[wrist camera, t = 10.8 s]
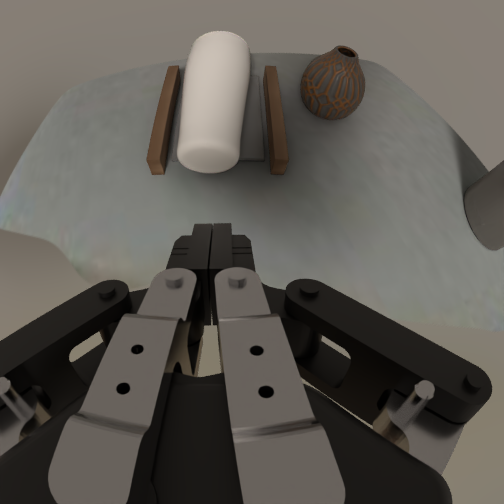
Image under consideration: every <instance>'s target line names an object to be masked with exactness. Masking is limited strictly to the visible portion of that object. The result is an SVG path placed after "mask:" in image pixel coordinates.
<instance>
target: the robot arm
mask: <svg viewBox="0 0 504 504" xmlns="http://www.w3.org/2000/svg"><path fill="white" fill-rule="evenodd" d="M464 202H465V210H466V215H467V218H468V221H469V223H470V226H471V228H472V230H473V232H474V233H475V235H476V237H477V238H478V239H479V241H480V242H481V243H482V244H483V245H484V246H485V247H487V248H488V249H490V250H498V249H500V248H502V247H504V161H502V162H501V163H500V164H499V165H497V166H496V167H495V168H494V169H492V170H491V171H490V172H488V173H487V174H486V175H485V176H483V177H482V178H481V179H479V180H478V181H477V182H475V183H474V184H473V185H472V186H470V187H469V188H468V189H467V191H466V193H465V199H464ZM211 314H212V315H211ZM211 316H212V319H213V325H217V330H218V345H219V355H220V365H221V373H220V374H215V375H210V376H205V377H197V376H198V370H199V364H200V357H201V352H202V346H203V337H202V335H203V332H204V325H211ZM98 331H99V332H100V334H101V337H102V339H103V342H102V343H101V344H100V345H98V346H96V347H95V348H94V349H92V350H91V351H89V352H87V353H86V354H85V355H83V356H82V357H80V358H79V359H77V360H76V361H74V362H70V361H69V354H70V352H71V350H72V349H73V348H74V347H75V346H77V345H79V344H80V343H82V342H83V341H85V340H86V339H88V338H89V337H90V336H92V335H94V334H95V333H97V332H98ZM322 335H323V336H325V337H326V338H328V339H329V340H331V341H333V342H334V343H336V344H337V345H339V346H341V347H342V348H344V349H345V350H346V351H347V352H348V353H349V355H350V357H351V359H349V358H347V357H346V356H344V355H343V354H341V353H339V352H338V351H336V350H335V349H333V348H332V347H330V346H328V345H327V344H325V343H324V342H322V341H321V339H322ZM301 378H303V379H304V380H306V381H307V382H308V383H310V384H311V385H312V386H314V387H315V388H317V389H318V390H320V391H321V392H322V393H324V394H325V395H327V396H328V397H330V398H331V399H333V400H334V401H336V402H337V403H339V404H340V405H341V406H343V407H344V408H346V409H347V410H349V411H350V412H352V413H353V414H355V415H356V416H358V417H359V418H361V419H362V420H364V421H366V422H367V423H369V424H370V425H372V426H373V429H371V428H370V427H368V426H367V425H366V424H364V423H363V422H361V421H360V420H358V419H357V418H355V417H354V416H353V415H351V414H350V413H349V412H347V411H346V410H344V409H343V408H342V407H340V406H339V405H338V404H336V403H335V402H333V401H332V400H331V399H329V398H328V397H327V396H325V395H324V394H322V393H321V392H320V391H318V390H316V389H314V388H313V387H310V386H308V385H306V384H303V383H302V380H301ZM491 394H492V385H491V381H490V379H489V377H488V376H487V374H486V373H485V372H484V371H483V370H482V369H481V368H479V367H478V366H476V365H474V364H472V363H470V362H469V361H466V360H465V359H463V358H461V357H459V356H458V355H455V354H454V353H452V352H450V351H448V350H446V349H445V348H443V347H441V346H439V345H437V344H435V343H433V342H432V341H430V340H428V339H426V338H424V337H422V336H420V335H418V334H417V333H415V332H413V331H411V330H409V329H408V328H406V327H404V326H402V325H400V324H398V323H397V322H395V321H393V320H391V319H389V318H387V317H385V316H383V315H382V314H380V313H378V312H376V311H374V310H372V309H370V308H369V307H367V306H365V305H363V304H361V303H359V302H357V301H355V300H354V299H352V298H350V297H348V296H346V295H344V294H342V293H341V292H339V291H337V290H335V289H333V288H331V287H329V286H327V285H325V284H324V283H322V282H319V281H317V280H313V279H298V280H294V281H292V282H290V283H289V284H288V285H287V287H286V290H282V289H276V288H272V287H269V286H267V285H265V284H263V283H262V282H261V280H260V278H259V276H258V274H257V273H256V272H255V265H254V259H253V254H252V247H251V241H250V240H249V239H248V238H247V237H246V236H245V235H232V229H231V223H218V224H214V226H213V225H212V224H195V225H194V228H193V232H192V235H191V236H181V237H180V238H179V239H177V240H176V241H175V243H174V246H173V249H172V252H171V255H170V258H169V261H168V264H167V267H166V270H164V271H162V272H160V273H158V274H157V275H156V276H155V277H154V279H153V281H152V283H151V285H150V287H149V288H147V289H143V290H138V291H133V292H129V289H128V286H127V284H126V283H124V282H122V281H119V280H107V281H103V282H100V283H98V284H96V285H94V286H93V287H91V288H89V289H87V290H85V291H84V292H82V293H80V294H78V295H77V296H75V297H73V298H71V299H70V300H68V301H66V302H64V303H63V304H61V305H59V306H57V307H56V308H54V309H52V310H51V311H49V312H47V313H46V314H44V315H42V316H40V317H39V318H37V319H36V320H34V321H32V322H30V323H29V324H27V325H25V326H24V327H22V328H21V329H19V330H17V331H16V332H14V333H13V334H11V335H9V336H8V337H6V338H5V339H3V340H1V341H0V504H452V495H451V492H450V489H449V487H448V485H447V483H446V481H445V480H444V478H443V477H442V476H441V475H442V473H443V471H444V469H445V467H446V465H447V463H448V461H449V459H450V457H451V455H452V452H453V451H454V448H455V446H456V444H457V442H458V439H459V437H460V434H461V432H462V430H463V427H464V425H465V424H466V423H467V422H468V421H469V420H470V419H471V418H472V417H473V416H474V415H475V414H476V413H477V412H478V411H479V410H480V409H481V408H482V406H483V405H484V404H485V403H486V402H487V401H488V400H489V398H490V396H491Z"/></svg>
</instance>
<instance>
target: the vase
mask: <svg viewBox="0 0 504 504" xmlns="http://www.w3.org/2000/svg"><path fill="white" fill-rule="evenodd" d="M364 91H365V78H364V75H363V72H362V69H361V67H360V65H359V59H358V54H357V53H356V52H355V51H354V50H352V49H351V48H348V47H346V46H337V47H335V48H334V49H333V50H331V51H330V52H328V53H325V54H323V55H321V56H319V57H317V58H315V59H314V60H313V61H312V62H311V63H310V64H309V65H308V67H307V68H306V70H305V72H304V74H303V77H302V81H301V95H302V99H303V101H304V103H305V105H306V106H307V108H308V109H309V110H310V111H311V112H312V113H314V114H315V115H316V116H318V117H320V118H323V119H328V120H337V119H342V118H345V117H347V116H348V115H350V114H351V113H352V112H354V111H355V110H356V108H357V107H358V106H359V104H360V102H361V101H362V98H363V95H364Z"/></svg>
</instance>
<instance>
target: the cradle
mask: <svg viewBox="0 0 504 504" xmlns="http://www.w3.org/2000/svg"><path fill="white" fill-rule="evenodd" d="M179 85H180V72H179V66H169V67H168V70H167V74H166V77H165V81H164V84H163V88H162V92H161V96H160V100H159V104H158V108H157V112H156V116H155V121H154V125H153V130H152V135H151V139H150V144H149V150H148V155H147V163H148V165H149V168H150V170H151V173H152V175H161V174H164V173H165V166H166V159H167V152H168V145H169V139H170V133H171V127H172V121H173V116H174V110H175V105H176V100H177V95H178V90H179ZM263 85H264V96H265V107H266V118H267V130H268V142H269V154H270V167H271V174H282V175H284V172H285V169H286V166H287V163H288V161H289V157H288V149H287V141H286V133H285V125H284V118H283V111H282V104H281V97H280V90H279V83H278V77H277V70H276V67H275V66H265V72H264V78H263ZM182 92H183V91H182ZM181 104H182V96H181V102H180V107H179V113H178V119H177V125H176V132H175V138H174V145H173V152H172V161H179V160H178V158H177V145H178V138H179V128H180V116H181ZM239 160H248V161H264V146H263V131H262V117H261V104H260V91H259V78H258V76H250V79H249V86H248V92H247V98H246V105H245V111H244V118H243V125H242V132H241V140H240V157H239Z"/></svg>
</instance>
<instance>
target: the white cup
mask: <svg viewBox="0 0 504 504" xmlns="http://www.w3.org/2000/svg"><path fill="white" fill-rule="evenodd" d="M250 68H251V61H250V49H249V46H248V44H247V43H246V41H245V40H244V39H243V38H241V37H240V36H238V35H236V34H234V33H231V32H226V31H214V32H209V33H206V34H204V35H202V36H201V37H199V38H198V39H197V40H196V41H195V42H194V44H193V45H192V48H191V50H190V53H189V56H188V59H187V63H186V67H185V73H184V82H183V92H182V104H181V116H180V128H179V138H178V145H177V158H178V160H179V162H180V163H181V164H182V165H183V166H185V167H186V168H188V169H190V170H193V171H196V172H201V173H219V172H223V171H226V170H229V169H231V168H232V167H234V166H235V165H236V163H237V162H238V160H239V157H240V140H241V132H242V125H243V118H244V111H245V105H246V98H247V92H248V86H249V79H250Z"/></svg>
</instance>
